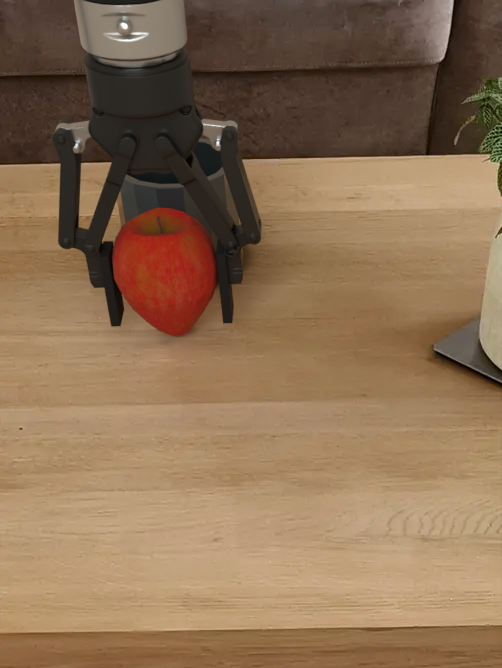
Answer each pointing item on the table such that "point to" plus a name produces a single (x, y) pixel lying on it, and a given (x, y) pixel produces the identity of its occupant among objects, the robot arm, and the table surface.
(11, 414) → the table surface
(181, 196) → the dark gray cup
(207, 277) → the apple
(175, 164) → the robot arm
